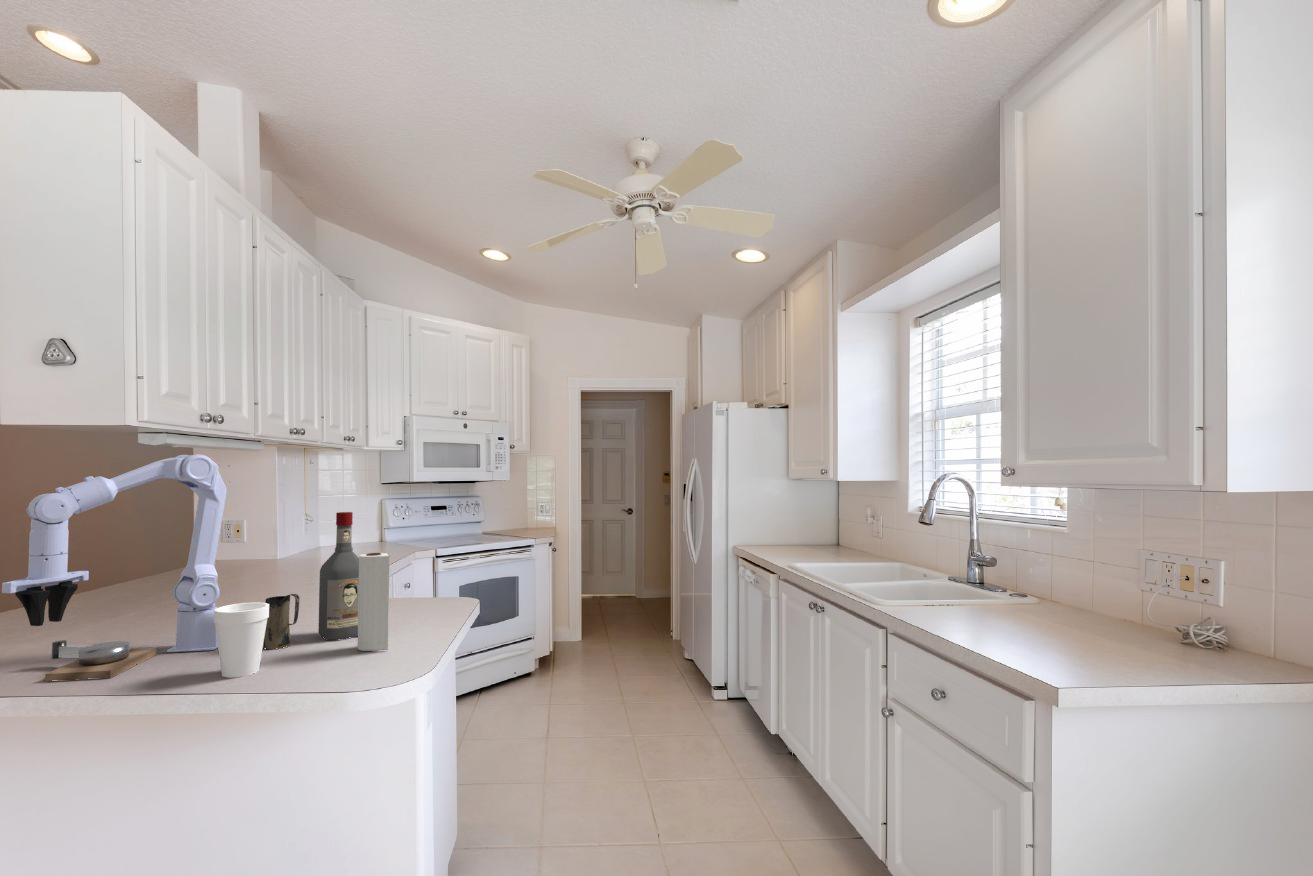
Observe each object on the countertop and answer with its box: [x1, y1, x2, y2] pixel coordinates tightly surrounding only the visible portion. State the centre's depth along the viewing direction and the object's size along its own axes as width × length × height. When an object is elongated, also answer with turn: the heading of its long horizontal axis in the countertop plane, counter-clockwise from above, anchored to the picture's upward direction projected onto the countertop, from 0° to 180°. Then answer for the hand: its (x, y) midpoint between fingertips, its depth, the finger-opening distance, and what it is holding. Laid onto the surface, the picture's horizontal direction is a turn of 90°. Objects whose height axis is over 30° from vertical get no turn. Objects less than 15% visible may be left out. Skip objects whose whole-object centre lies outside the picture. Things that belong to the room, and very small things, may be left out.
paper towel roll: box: [357, 552, 391, 652], centre depth 149 cm, size 7×6×21 cm
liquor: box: [318, 511, 359, 641], centre depth 161 cm, size 9×9×30 cm
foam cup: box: [214, 602, 269, 679], centre depth 132 cm, size 10×9×13 cm
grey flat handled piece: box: [51, 640, 131, 665], centre depth 135 cm, size 15×8×3 cm, turn 86°
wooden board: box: [44, 647, 157, 682], centre depth 135 cm, size 11×16×2 cm
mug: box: [262, 593, 300, 650], centre depth 151 cm, size 8×6×12 cm
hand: (46, 623), depth 129 cm, fingers open, 3 cm apart
